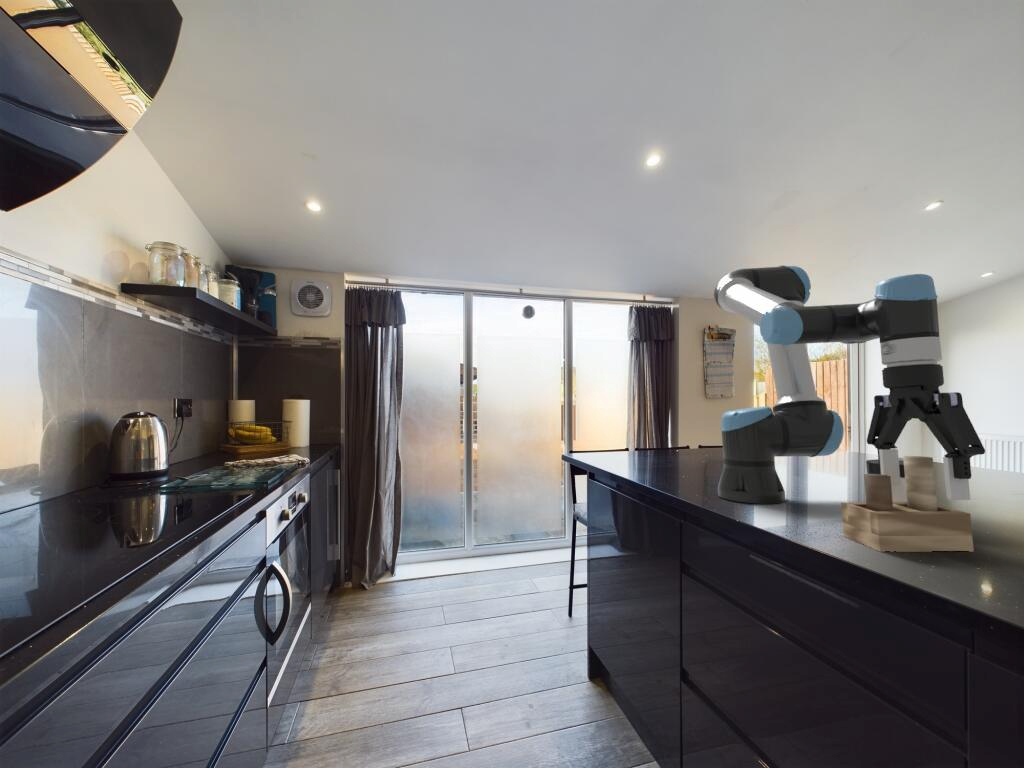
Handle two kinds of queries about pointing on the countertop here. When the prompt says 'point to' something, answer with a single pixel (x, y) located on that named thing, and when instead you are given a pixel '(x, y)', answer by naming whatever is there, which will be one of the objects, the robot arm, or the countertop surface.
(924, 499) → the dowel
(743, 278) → the robot arm
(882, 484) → the stub
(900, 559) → the countertop surface
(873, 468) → the jar
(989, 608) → the countertop surface
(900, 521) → the wooden divided box
